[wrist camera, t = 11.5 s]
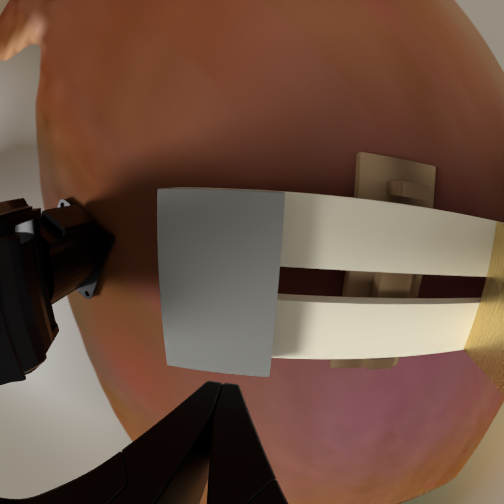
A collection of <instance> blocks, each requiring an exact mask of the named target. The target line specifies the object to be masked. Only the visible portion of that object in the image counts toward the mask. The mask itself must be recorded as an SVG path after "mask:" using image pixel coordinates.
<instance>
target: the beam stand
mask: <svg viewBox="0 0 504 504" xmlns="http://www.w3.org/2000/svg"><path fill="white" fill-rule="evenodd" d="M435 172H436V167H435V166H431V165H427V164H423V163H418V162H414V161H409V160H404V159H399V158H394V157H389V156H383V155H377V154H371V153H365V152H359V153H356V172H355V188H354V198H361V199H369V200H377V201H385V202H392V203H399V204H406V205H413V206H419V207H426V208H432V209H433V202H434V189H435ZM422 275H423V274H407V273H386V272H367V271H348V270H346V271H345V278H344V284H343V290H342V296H341V297H366V298H417V297H418V293H419V289H420V284H421V280H422ZM399 358H400V357H388V358H368V359H329V364H330V367H331V368H348V367H366V368H367V370H369V369H386V368H392V366H393V365H397V363H398V360H399Z"/></svg>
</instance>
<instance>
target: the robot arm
mask: <svg viewBox="0 0 504 504" xmlns="http://www.w3.org/2000/svg"><path fill="white" fill-rule="evenodd" d="M63 204H64V205H63ZM107 237H108V238H109V240H110V241H109V242H108V241H107ZM114 242H115V238H114V236H113V235H112V234H111V233H110V232H109V231H107V230H106V229H105V228H103V227H102V226H101V225H99V224H98V223H97V222H96V219H95V218H93V217H92V216H91V215H89V214H88V213H87V212H85V211H84V210H83V209H82V208H80V207H79V206H78V205H76V204H75V205H74V204H72V203H71V202H70V201H68V200H67V199H61V200H60V202H59V204H58V207H57V208H53V209H48V210H44V211H42V213H41V208H35V209H32V206H31V207H30V206H28V204H27V203H26V201H25V199H24V198H21V199H14V200H9V201H3V202H0V385H3V384H6V383H9V382H16V381H23V380H25V379H26V376H25V375H26V374H29V373H31V372H32V371H34V370H35V369H36V368H37V367H38V366H39V365H40V364H42V363H43V362H44V361H45V359H46V352H47V351H48V349H49V347H50V345H51V344H52V342H53V340H54V339H55V337H56V335H57V333H58V332H59V329H58V325H57V323H56V322H55V318H54V313H53V309H52V304H54V303H55V302H57V301H58V300H60V299H62V298H63V297H65V296H66V295H68V294H69V293H71V292H73V291H74V290H77V291H78V292H79V293H81V294H82V295H83V296H84V297H85V298H87V299H90V298H92V297H93V296H94V294H95V291H96V288H97V285H98V282H99V280H100V277H101V274H102V272H103V269H104V267H105V264H106V262H107V259H108V257H109V254H110V252H111V249H112V247H113V244H114ZM88 292H89V294H88ZM275 479H276V477H275V475H274V472H273V470H272V468H271V465H270V463H269V461H268V458H267V456H266V454H265V451H264V449H263V446H262V444H261V441H260V439H259V436H258V434H257V431H256V429H255V426H254V424H253V421H252V419H251V416H250V414H249V411H248V408H247V406H246V403H245V400H244V398H243V395H242V392H241V389H240V387H239V385H237V384H230V383H224V384H222V383H221V382H213V381H207V382H206V383H205V384H203V385H202V386H201V387H200V388H199V389H198V390H196V391H195V392H194V393H193V394H192V395H191V396H189V397H188V398H187V399H186V400H185V401H184V402H182V403H181V404H180V405H179V406H178V407H176V408H175V409H174V410H173V411H171V412H170V413H169V414H168V415H167V416H165V417H164V418H163V419H162V420H160V421H159V422H158V423H157V424H155V425H154V426H153V427H152V428H150V429H149V430H148V431H146V432H145V433H144V434H143V435H141V436H140V437H139V438H137V439H136V440H135V441H133V442H132V443H131V444H129V445H128V446H127V447H125V448H124V449H123V450H122V452H119V453H117V454H116V455H115V456H113V457H112V458H110V459H109V460H107V461H106V462H104V463H103V464H101V465H100V466H98V467H96V468H95V469H93V470H91V471H90V472H88V473H86V474H84V475H82V476H81V477H78V478H77V479H74V480H72V481H70V482H68V483H66V484H64V485H61V486H59V487H57V488H54V489H52V490H50V491H48V492H45V493H43V494H40V495H37V496H34V497H30V498H25V499H7V498H0V504H199V503H200V501H201V498H202V495H203V492H204V489H205V486H206V483H207V480H208V493H207V504H288V502H287V500H286V498H285V496H284V494H283V492H282V490H281V488H280V486H279V483H278V481H277V480H275Z"/></svg>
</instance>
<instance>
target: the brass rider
mask: <svg viewBox="0 0 504 504" xmlns="http://www.w3.org/2000/svg"><path fill="white" fill-rule="evenodd" d="M463 350H464V351H465V352H466V353H467V354H468V355H469V356H470V357H471V358H472V360H473V361H474V362H475V363H476V364H477V365H478V366H479V367H480V368H481V369H482V371H483V372H484V373H485V374H486V375H487V376H488V377H489V378H490V380H491V381H492V382H493V383H494V384H495V385H496V387H497V388H498V389H499V390H500V391H501V392H502V394H503V395H504V223H500V222H496V229H495V236H494V242H493V248H492V254H491V259H490V264H489V268H488V273H487V277H486V281H485V285H484V289H483V293H482V296H481V300H480V303H479V307H478V310H477V313H476V316H475V319H474V322H473V325H472V328H471V331H470V333H469V336H468V339H467V341H466V344H465V347H464V349H463Z"/></svg>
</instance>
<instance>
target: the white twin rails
mask: <svg viewBox="0 0 504 504" xmlns="http://www.w3.org/2000/svg"><path fill="white" fill-rule="evenodd" d="M496 222H498V221H494V220H489V219H485V218H480V217H475V216H470V215H465V214H460V213H454V212H449V211H443V210H438V209H432V208H426V207H419V206H413V205H406V204H399V203H392V202H385V201H377V200H369V199H361V198H352V197H343V196H333V195H322V194H311V193H299V192H286V191H270V190H252V189H230V188H190V187H176V188H163V189H157V241H158V268H159V286H160V300H161V312H162V323H163V333H164V342H165V350H166V358H167V365H170V366H176V367H182V368H189V369H195V370H203V371H210V372H218V373H227V374H237V375H248V376H262V377H269V375H270V366H271V357H273V358H294V359H368V358H388V357H403V356H415V355H425V354H434V353H442V352H450V351H457V350H463V349H464V347H465V344H466V341H467V339H468V336H469V333H470V331H471V328H472V325H473V322H474V319H475V316H476V313H477V310H478V307H479V303H480V300H481V298H366V297H336V296H313V295H294V294H278V284H279V272H280V266H281V267H297V268H313V269H330V270H348V271H367V272H386V273H407V274H428V275H452V276H478V277H487V273H488V268H489V264H490V259H491V254H492V248H493V242H494V236H495V229H496ZM500 223H503V222H500Z"/></svg>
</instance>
